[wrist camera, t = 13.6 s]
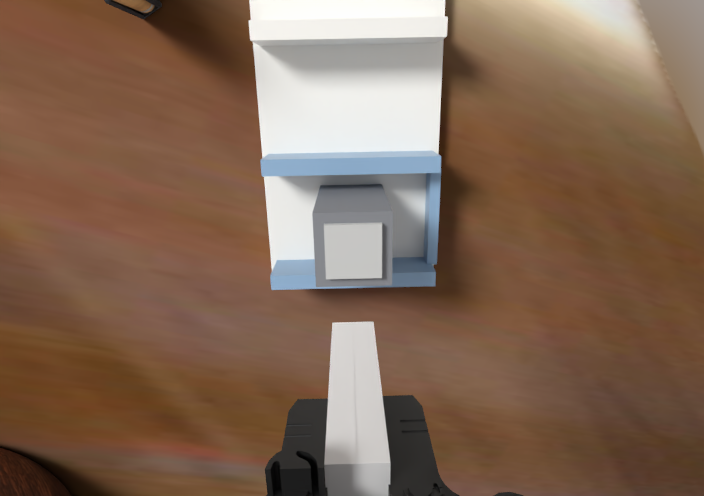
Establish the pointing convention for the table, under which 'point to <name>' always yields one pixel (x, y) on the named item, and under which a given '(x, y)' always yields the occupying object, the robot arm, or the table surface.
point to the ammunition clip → (136, 6)
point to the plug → (352, 236)
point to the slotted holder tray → (350, 122)
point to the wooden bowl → (26, 477)
